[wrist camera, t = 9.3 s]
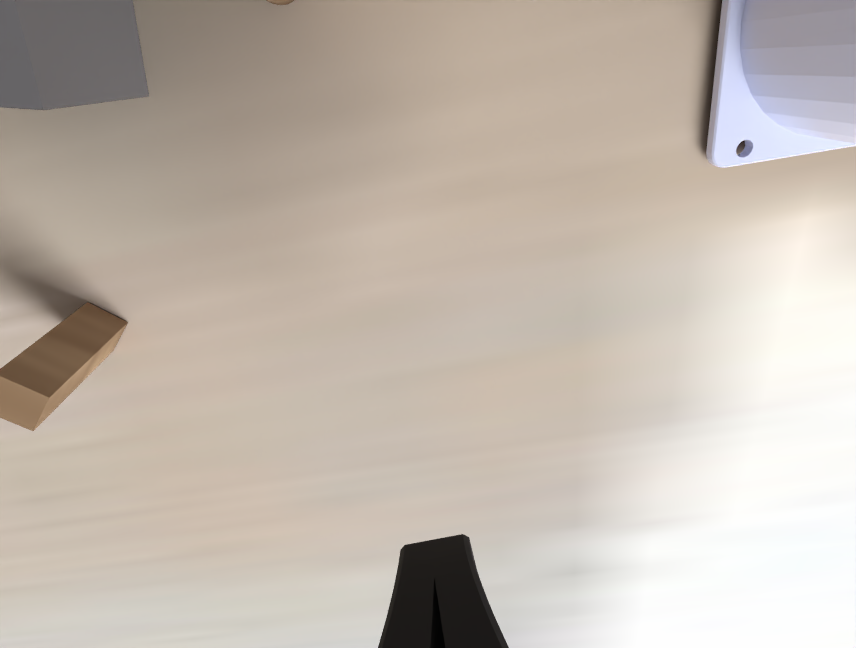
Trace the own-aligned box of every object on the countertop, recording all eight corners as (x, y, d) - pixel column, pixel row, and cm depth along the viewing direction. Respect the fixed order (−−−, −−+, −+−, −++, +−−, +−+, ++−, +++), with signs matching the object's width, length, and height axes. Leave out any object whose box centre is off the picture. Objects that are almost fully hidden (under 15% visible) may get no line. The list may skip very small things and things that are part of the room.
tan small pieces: (354, -258, 11) (331, -435, 7) (404, -206, 12) (409, -346, 8) (73, 331, 18) (-21, 408, 14) (113, 350, 18) (33, 430, 14)
